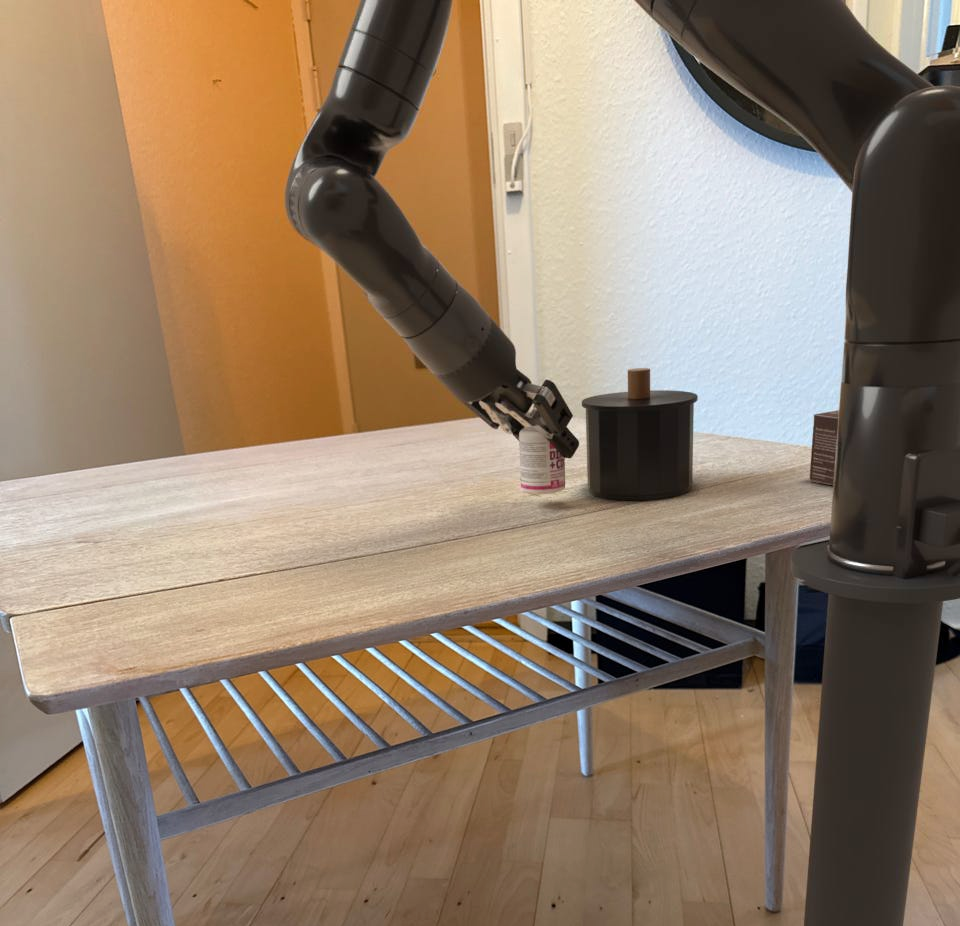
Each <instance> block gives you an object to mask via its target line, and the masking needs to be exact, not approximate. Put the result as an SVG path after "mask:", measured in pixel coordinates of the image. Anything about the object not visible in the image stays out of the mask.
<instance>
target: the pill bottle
mask: <svg viewBox="0 0 960 926" xmlns="http://www.w3.org/2000/svg"><path fill="white" fill-rule="evenodd" d="M533 409H534V408H533V407H531V408H530V409H529V411H528V412H527V413H526V414H525V415H526V416H527V417H529V415H530V413H531V412H532V410H533ZM540 421H541V422H542V423H543V424H544V425H545V426H546V423H545V421H544V420H543V418H542V417H540ZM523 426H524V425H523ZM518 446H519V466H520V467H519V468H520V489H521V491H522V492H523V493H526V494H530V495H531V494H532V495H548V494H550V495H551V494H555V493H559V492H561V491H563V490H565V488H566V460H565V459H566V458H564V457H563V456H562V455H561V454H560V453H559V452H558V451H557V450H556V448H555V447H554V446H553V445H552V444H551V443H550V442H549V441H548V440H547V439H546V437H545V436H544V435H542V434H541V433H540V432H539V431H537V430H536V429H535V428H534V427H530V428H526V427H525V426H524V428H523V429H522V430H521V431H520V433H519V441H518Z"/></svg>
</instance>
